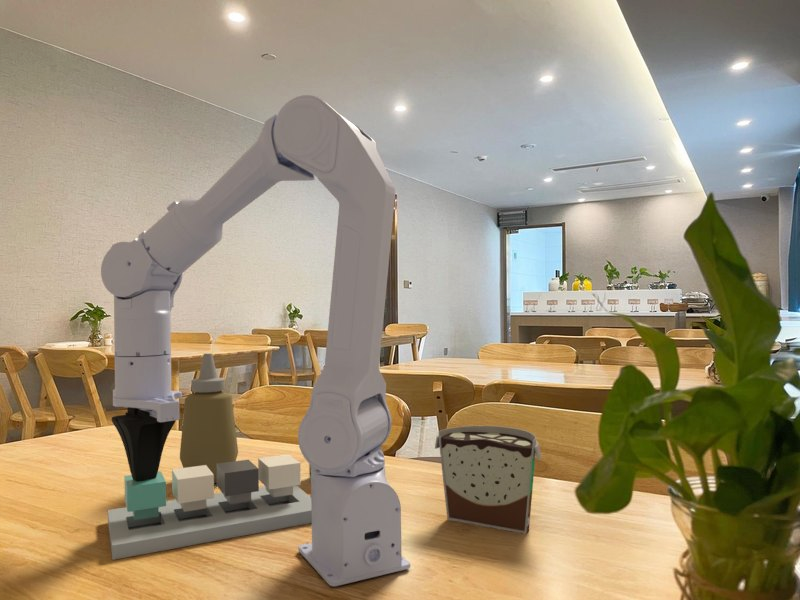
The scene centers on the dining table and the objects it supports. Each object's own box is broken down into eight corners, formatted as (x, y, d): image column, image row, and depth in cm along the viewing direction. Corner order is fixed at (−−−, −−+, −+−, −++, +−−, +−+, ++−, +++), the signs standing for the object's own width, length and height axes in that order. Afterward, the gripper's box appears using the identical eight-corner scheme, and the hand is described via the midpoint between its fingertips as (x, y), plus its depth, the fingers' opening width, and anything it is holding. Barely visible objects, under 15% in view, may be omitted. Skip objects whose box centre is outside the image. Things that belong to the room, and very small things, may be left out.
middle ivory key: (214, 508, 68) (213, 474, 68) (178, 514, 66) (177, 479, 66) (206, 497, 72) (206, 465, 72) (172, 502, 70) (172, 469, 70)
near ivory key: (300, 494, 72) (300, 462, 72) (269, 500, 71) (268, 467, 71) (288, 484, 77) (288, 454, 77) (258, 489, 75) (258, 458, 75)
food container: (556, 518, 70) (555, 430, 70) (540, 536, 64) (538, 441, 64) (458, 502, 76) (457, 421, 76) (435, 517, 71) (434, 430, 71)
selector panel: (324, 520, 70) (324, 508, 70) (112, 559, 60) (112, 545, 60) (292, 492, 81) (292, 481, 81) (108, 522, 70) (107, 509, 71)
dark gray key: (258, 501, 70) (258, 468, 70) (225, 507, 68) (224, 473, 68) (248, 490, 74) (248, 459, 74) (216, 495, 73) (216, 463, 73)
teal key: (166, 517, 66) (165, 481, 66) (127, 523, 64) (127, 487, 64) (161, 504, 70) (160, 471, 70) (124, 510, 68) (124, 475, 68)
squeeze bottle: (167, 486, 84) (165, 356, 85) (200, 470, 92) (198, 351, 92) (220, 489, 82) (218, 356, 83) (248, 473, 90) (247, 351, 90)
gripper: (207, 355, 64) (208, 485, 64) (155, 349, 75) (156, 460, 75) (138, 360, 60) (139, 500, 59) (93, 353, 70) (94, 471, 70)
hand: (144, 479), depth 67 cm, fingers closed, pressing on teal key
